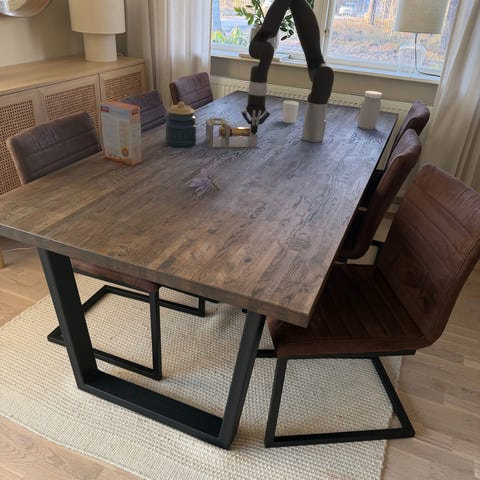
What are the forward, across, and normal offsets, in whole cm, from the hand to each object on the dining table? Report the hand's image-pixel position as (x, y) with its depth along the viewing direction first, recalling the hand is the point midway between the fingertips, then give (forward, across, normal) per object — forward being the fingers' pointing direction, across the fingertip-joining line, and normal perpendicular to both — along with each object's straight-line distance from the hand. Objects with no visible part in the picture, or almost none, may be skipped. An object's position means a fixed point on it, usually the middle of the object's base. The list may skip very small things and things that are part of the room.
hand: (253, 133), depth 192 cm
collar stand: (+5, +10, 0) cm, 11 cm away
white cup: (+5, -30, -36) cm, 47 cm away
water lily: (+5, +30, +48) cm, 56 cm away
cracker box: (+5, +56, +18) cm, 59 cm away
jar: (+5, -70, -26) cm, 74 cm away
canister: (+5, +32, -1) cm, 32 cm away
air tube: (+1, +9, 0) cm, 9 cm away
